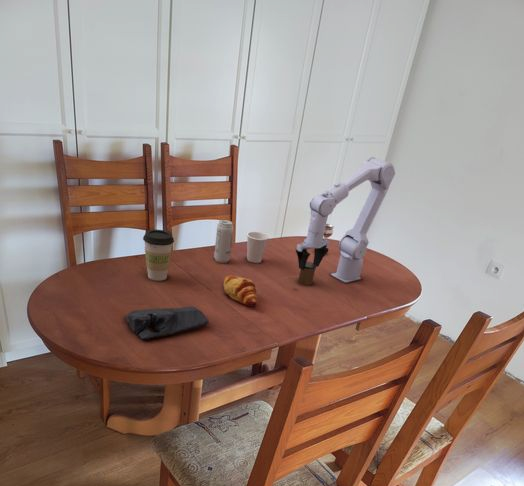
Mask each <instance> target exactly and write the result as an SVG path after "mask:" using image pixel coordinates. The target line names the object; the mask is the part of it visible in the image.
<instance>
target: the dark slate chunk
mask: <svg viewBox="0 0 524 486" xmlns="http://www.w3.org/2000/svg"><path fill="white" fill-rule="evenodd" d="M125 320H126V323H127V324H128V325H129V328H130V330H131V331H132V332H133V334H135V335H137V336H138V338H140V339H141V340H144V341H145V340H150V339H152V338H163V337H166V336H167V337H168V336H172V335H174V334H179V333H185V332H188V331H192V330H197V329H198V328H200V327H203V326H206V325H208V324H209V319H208V317H207V316H206V315H205V314H204V313H203V312H202V310H200V309H199V308H197V307H196V306H193V305H191V306H186V307H181V308H180V307H179V308H167V307H166V308H165V307H164V308H150V309H149V308H148V309H147V308H145V309H136V310H132V311H130V312H129V314H128V315H127V316H125ZM150 328H153V329H154V330H155V332H152V331H151V330H150Z"/></svg>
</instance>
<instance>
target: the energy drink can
mask: <svg viewBox="0 0 524 486" xmlns="http://www.w3.org/2000/svg"><path fill="white" fill-rule="evenodd" d="M233 235H234V225H233V222H232V220H228V219H220V220H219V221H218V224H217V225H216V235H215V243H214V244H215V245H214V255H213V258H214V259H215V260H214V261H216V262H217V263H220V264H227V263H228V262H229V261H230V259H231V252H232V245H233Z"/></svg>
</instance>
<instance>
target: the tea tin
mask: <svg viewBox="0 0 524 486" xmlns="http://www.w3.org/2000/svg"><path fill="white" fill-rule="evenodd" d="M316 269H317V266H316V265H315V264H314V263H313V262H311V261H307V262H306V265H305V268H304V270H302V269H300V271H299V275H298V280H297V282H298V283H299V284H300V285H303V286H311V285H312V284H313V281H314V277H315V271H316Z"/></svg>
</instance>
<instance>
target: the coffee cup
mask: <svg viewBox="0 0 524 486" xmlns="http://www.w3.org/2000/svg"><path fill="white" fill-rule="evenodd" d="M142 240H143V242H144V253H145V254H144V255H145V264H146V269H147V270H146V271H147V277H148V279H149V280H152V281H157V282H158V281H159V282H160V281H165V280H167V278H168V272H169V268H170V264H171V263H170V262H171V256H172V251H173V249H172V248H173V244H174V242H175V239H174V237H173V233H172V232H169V231H167V230H163V229H148V230H147V231H145V233H144V235H143V237H142Z"/></svg>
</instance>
